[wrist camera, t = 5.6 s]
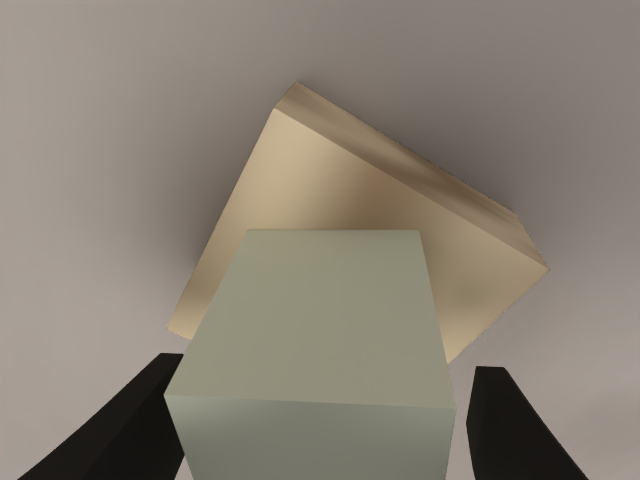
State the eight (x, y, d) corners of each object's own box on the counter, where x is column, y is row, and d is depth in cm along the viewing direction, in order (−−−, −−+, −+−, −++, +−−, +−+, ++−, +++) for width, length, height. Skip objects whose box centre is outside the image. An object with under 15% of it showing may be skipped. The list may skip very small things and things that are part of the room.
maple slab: (511, 208, 16) (550, 269, 12) (377, 353, 20) (378, 427, 17) (298, 79, 14) (273, 107, 11) (203, 266, 19) (165, 328, 15)
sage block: (419, 229, 12) (456, 408, 7) (410, 357, 14) (432, 558, 9) (247, 230, 13) (163, 395, 7) (267, 352, 15) (215, 538, 10)
